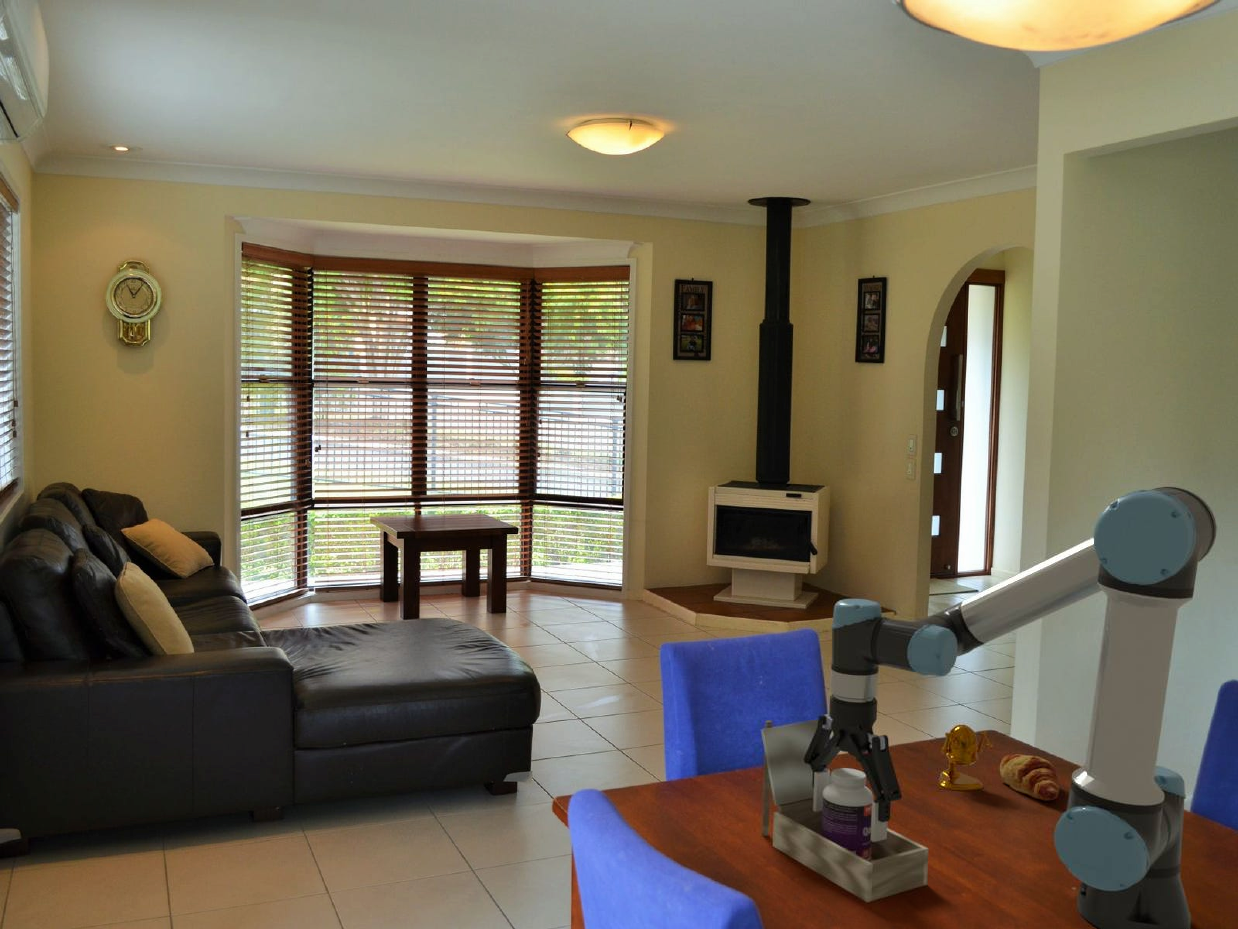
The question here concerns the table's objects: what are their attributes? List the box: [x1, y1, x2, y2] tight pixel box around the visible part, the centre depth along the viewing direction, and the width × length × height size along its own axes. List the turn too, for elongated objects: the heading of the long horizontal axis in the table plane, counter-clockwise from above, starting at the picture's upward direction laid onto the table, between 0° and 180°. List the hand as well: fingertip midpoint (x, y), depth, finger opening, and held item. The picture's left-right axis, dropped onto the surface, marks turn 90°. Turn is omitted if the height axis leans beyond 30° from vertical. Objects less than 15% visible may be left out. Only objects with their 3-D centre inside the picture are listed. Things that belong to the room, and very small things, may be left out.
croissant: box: [999, 753, 1060, 801], centre depth 213 cm, size 21×10×8 cm, turn 5°
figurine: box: [938, 724, 994, 792], centre depth 213 cm, size 8×11×12 cm
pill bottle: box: [821, 767, 874, 862], centre depth 175 cm, size 8×8×14 cm
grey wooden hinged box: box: [760, 719, 929, 903], centre depth 177 cm, size 28×13×20 cm, turn 31°
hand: (848, 824), depth 175 cm, fingers open, 13 cm apart
